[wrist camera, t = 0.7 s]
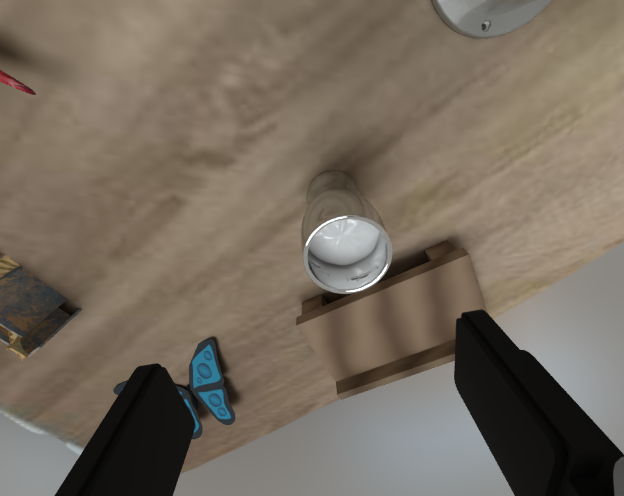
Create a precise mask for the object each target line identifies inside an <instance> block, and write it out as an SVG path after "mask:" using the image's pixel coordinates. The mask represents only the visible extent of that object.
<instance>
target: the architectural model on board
mask: <svg viewBox="0 0 624 496" xmlns="http://www.w3.org/2000/svg"><path fill="white" fill-rule="evenodd" d="M66 300H68V299H66V298H64V297H63V296H62V295H60V294H59V293H57V292H56V291H55V290H53V289H52V288H50V287H49V286H48V285H46V284H45V283H43V282H42V281H41V280H39V279H38V278H36V277H35V276H34V275H32V274H31V273H29V272H28V271H27V270H25V269H24V268H22V267H21V266H20V265H19V264H17V263H16V262H14V261H13V260H12V259H10V258H9V257H7V256H6V255H5V254H2V255H0V341H2V342H4V343H5V344H7V345H9V346H8V347H7V348H6V349H7V350H9V349H11V350H12V351H14V352H16V354H17V355H18V357H19V358H20V359H21V360H23V359H25V358H26V357H30V356H31V355H33V354H34V353H35V352H36V351H37V350H39V349H40V348H41V347H42V346H43V345H44V344H45V343H46V342H48V341H49V340H50V339H51V338H52V337H53V336H54V335H55V334H56V333H57V332H58V331H59V330H60V329H62V328H63V327H64V326H65V325H66V324H67V323H68V322H69V321H70V320H71V319H72V318H73V317H74V316H76V315H77V314H78V313H79V312H80V311H81V310H82V309H79V310H77V311H76V312H75V313H74V314H72V315H71V316H70V315H69V314H67V313H66V312H64V311H63V310H61V309H60V308H58V307H59V306H60V305H62V304H63V303H64V302H65V301H66Z"/></svg>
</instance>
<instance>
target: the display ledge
mask: <svg viewBox="0 0 624 496" xmlns="http://www.w3.org/2000/svg"><path fill="white" fill-rule="evenodd" d="M425 253H426V255H427V258H428V261H429V262H427V263H425V264H422V265H420V266H418V267H415V268H413V269H411V270H408V271H406V272H403V273H401V274H399V275H396V276H394V277H391V278H389V279H387V280H384V281H382V282H380V283H377V284H375V285H373V286H371V287H370V288H368V289H366V290H363V291H360V292H356V293H353V294H351V295H349V296H346V297H344V298H341V299H339V300H337V301H334V302H332V303H330V304H327V303H326V302H325V300H324V298H323V297H322V295H319V296H316V297H314V298H312V299H310V300H307V301H305V302H303V303H302V315H301V316H299V317H297V320H296V326H297V328H298V329H299V330H300V332H301V333H302V335H303V336H304V337H305V339H306V340H307V342H308V343H309V345H310V346H311V347H312V349H313V350H314V352H315V353H316V354H317V356H318V357H319V359H320V360H321V361H322V363H323V364H324V366H325V367H326V369H327V370H328V371H329V373H330V374H331V376H332V377H333V378H334V380H335V381H336V387H337V395H338V396H339V398H340V399H341V400H342V399H345V398H347V397H350V396H353V395H356V394H359V393H362V392H365V391H368V390H371V389H373V388H376V387H379V386H382V385H385V384H388V383H391V382H394V381H397V380H400V379H403V378H405V377H408V376H411V375H414V374H417V373H420V372H423V371H426V370H428V369H431V368H434V367H437V366H440V365H443V364H446V363H449V362H452V361H455V339H456V320H457V318H461V314H462V313H463V312H468V311H474V310H480V309H482V310H484V311H486V312H487V310H486V307H485V304H484V300H483V297H482V294H481V291H480V287H479V284H478V281H477V278H476V275H475V271H474V268H473V265H472V262H471V259H470V255H469V254H468V253H467V252H466V251H465V250H464V249H463V248H461V249H458V250H456V249H455V248H454V247H453V246H452V245H451V244H450V243H449V242H448V241H445V242H442V243H440V244H438V245H435V246H433V247H431V248H428V249H426V250H425Z"/></svg>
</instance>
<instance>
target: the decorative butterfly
mask: <svg viewBox="0 0 624 496" xmlns="http://www.w3.org/2000/svg"><path fill="white" fill-rule="evenodd" d="M127 381H128V380H127ZM127 381H125V382H123V383H121V384H120V385H118V386H117V387H115V388H114V390H113V391H114V393H115V394H117V395H119V394H120V392H121V391H122V389H123V388H124V386H125V385H126V383H127ZM189 384H190V385H188V386H187V389H188V391H187V390H185V389H183V388H181V387H179V386H176V387H177V389H178V391H179V392H180V394H181V396H182V398H183V399H184V401H185V403H186V405H187V406H188V408H189V410H190V412H191V413H192V415H193V417H194V419H195V430H194V433H193V436H192V439H197V438H199V437H200V436H201V434H202V425H201V422H200V419H199V416H198V413H197V408H198V406H197V401H196V399H195V397H196V398H197V399H198V400H199V401H200V402H201V403H202V404H203V405H204V406H205V407H206V408H207V409H208V410H209V411H210V412H211V413H212V415H213V416H214V417H215V418H216V419H217V420H218V421H219V422H221V423H223V424H225V425H231V424H232V423H233V422H234V421H235V413H234V411H233V409H232V407H231V405H230V403H229V399H228V395H227V391H226V388H224V387H223V384H224V379H223V375H222V372H221V369H220V366H219V362H218V358H217V352H216V345H215V342H214V340H212V339H209V340H206V341H204V342H201V343H200V344H198V346H197V349H196V351H195V353H194V356H193V358H192V360H191V363H190V365H189ZM194 396H195V397H194Z"/></svg>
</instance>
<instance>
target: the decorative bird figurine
mask: <svg viewBox="0 0 624 496" xmlns="http://www.w3.org/2000/svg"><path fill="white" fill-rule="evenodd" d="M0 81H1V82H3V83H5V84H7V85H10V86H12V87H15V88H17V89H19V90H21V91H24V92H26V93H29V94H32V95H36V93H35V92H34V91H33V90H32V89H30V88H29V87H27V86H25V85H24V84H22V83H21V82H19V81H17V80H16V79H14V78H13V77H11V76H9V75H8V74H6V73H4V72H3V71H1V70H0Z"/></svg>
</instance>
